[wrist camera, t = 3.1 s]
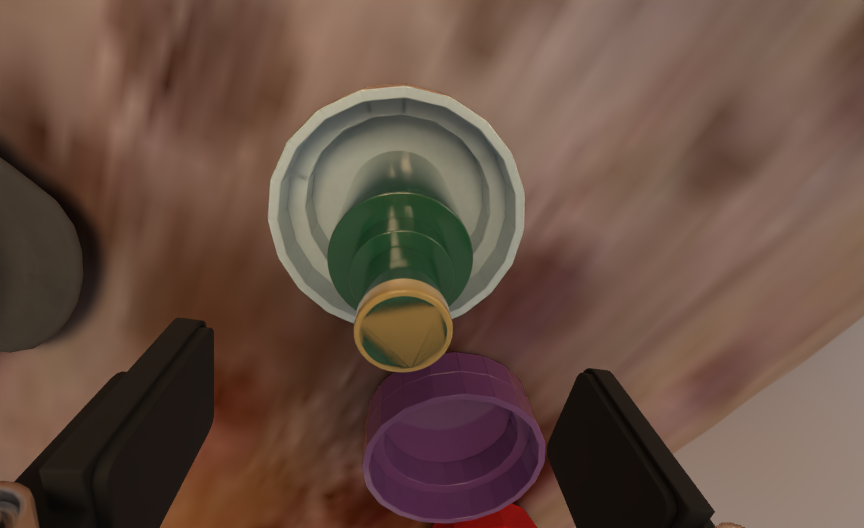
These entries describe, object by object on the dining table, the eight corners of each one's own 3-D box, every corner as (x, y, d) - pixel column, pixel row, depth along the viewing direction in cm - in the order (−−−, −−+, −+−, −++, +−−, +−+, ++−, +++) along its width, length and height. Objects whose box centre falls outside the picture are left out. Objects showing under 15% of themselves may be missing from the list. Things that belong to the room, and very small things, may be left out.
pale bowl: (457, 43, 22) (474, 35, 17) (527, 244, 27) (553, 278, 23) (247, 142, 23) (212, 159, 19) (354, 316, 29) (346, 361, 24)
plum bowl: (495, 322, 30) (513, 367, 25) (543, 435, 35) (565, 488, 31) (337, 385, 31) (328, 438, 27) (407, 484, 37) (409, 542, 32)
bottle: (424, 133, 23) (460, 206, 11) (462, 223, 26) (526, 369, 13) (331, 175, 24) (259, 292, 11) (376, 259, 26) (359, 432, 14)
